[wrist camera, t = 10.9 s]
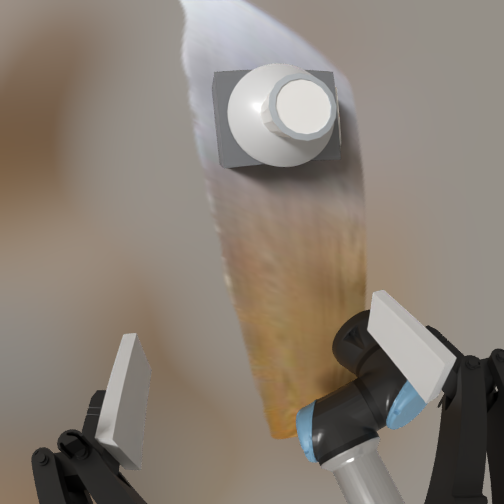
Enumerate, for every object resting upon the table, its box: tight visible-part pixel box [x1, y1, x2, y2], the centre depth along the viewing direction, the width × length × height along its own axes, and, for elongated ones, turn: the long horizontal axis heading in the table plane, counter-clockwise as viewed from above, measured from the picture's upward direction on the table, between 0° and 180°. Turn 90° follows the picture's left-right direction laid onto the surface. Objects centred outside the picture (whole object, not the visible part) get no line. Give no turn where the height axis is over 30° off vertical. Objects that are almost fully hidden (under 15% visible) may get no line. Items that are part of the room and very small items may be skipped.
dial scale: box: [212, 64, 341, 168], centre depth 34 cm, size 13×16×10 cm
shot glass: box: [260, 73, 337, 141], centre depth 26 cm, size 7×7×7 cm
